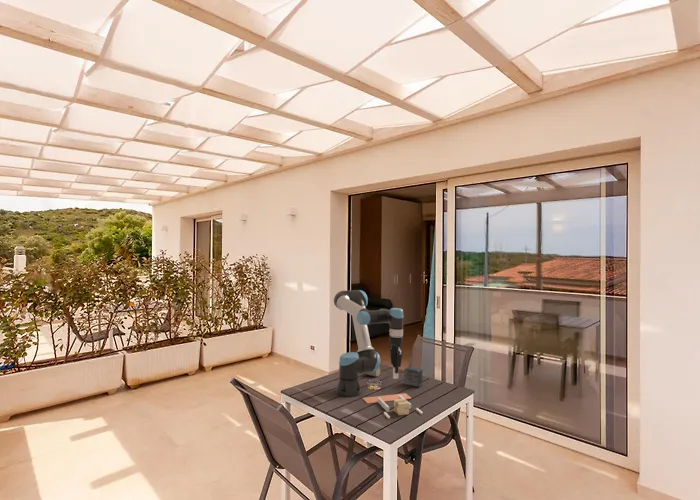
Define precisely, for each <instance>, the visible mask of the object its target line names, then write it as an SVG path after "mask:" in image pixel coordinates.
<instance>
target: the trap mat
mask: <svg viewBox="0 0 700 500" xmlns="http://www.w3.org/2000/svg"><path fill="white" fill-rule="evenodd" d="M399 395H401V396H402V397H403V398H404V399H406V400H412V397H411V396H409V394H407V393H405V392H404V393H396V394H395V393H394V394H386V395H377V396H367V397H362V400H363V401H364V402H365V403H366V404H367V405H369V404H370V405H371V404H377V403H378V397H380V398H381V399H382V400H383V401H384V402H385V403H388V402H394V400H398V399H399ZM378 404H379V403H378Z"/></svg>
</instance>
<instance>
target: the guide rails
mask: <svg viewBox="0 0 700 500" xmlns="http://www.w3.org/2000/svg"><path fill="white" fill-rule="evenodd" d="M399 399H404V398H403V397H402V396H401V395H399ZM405 400H406V401H407V402H409V401H408V399H405ZM378 404H379V405H380V406H381V407H382V408H383V409H384V410H385V412H386V413H388V412H390V406H389V405H388V404H387V402H384V401H383V400H382V399H381V398H380V397H378ZM411 409H412V403H410V402H409V410H411Z"/></svg>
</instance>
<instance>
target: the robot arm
mask: <svg viewBox="0 0 700 500" xmlns="http://www.w3.org/2000/svg"><path fill="white" fill-rule="evenodd" d="M368 300H369V298H368V295H367V294H366V292H365V291H363V290H361V289H354V290H351V289H350V290H341V291H338V292H337V293H336V294H335V295H334V298H333V303H334V306H335V307H336V308H337V309H338V310H341V311H344V312H346V313H348V314H349V315H350V316H351V317H352V323H353V327H354V332H355V338H356V342H357V347H358V348H357V349H358V350H357V351H350V352H345V353H343V354H341V355H340V356H339V361H338V364H339V367H338V368H339V369H338V371H339V374H338V375H339V379H338V381H337V385H336V388H335V389H336V391H335V392H336V394H337V395H339V396H341V397H348V398H349V397H357V396H359V395H361V392H362V389H361V385H360V381H359V375H360V374H366V373H367V372H373V371H376V370H378V368H380V366H381V356H380V354H379V352H377V351H376V350H375V347H373V346H372V343H371V339H370V333H369V327H368V325H372V324H373V325H375V324H385V323H386V324H389V330H388V332H389V338H388V339H389V340H388V341H389V342H388V343H390V345H389V350H390V351H389V352H390V353H389V354H390V364H391V365H392V379H394V380H396V379H397V380H398V379H399V372H400V371H399V370H400V369H399V368H401V366H402V358H403V354H404V353H403V352H404V351H403V350H401V348H402V347H401V345H402V344H403V343H404V337H403V336H404V310H403V309H402V308H401V307H391V308H390V309H387V308H380V309H375V310H374V309H373V310H369V309H367V308H366V307H367V306H368Z"/></svg>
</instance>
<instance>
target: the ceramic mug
mask: <svg viewBox="0 0 700 500" xmlns="http://www.w3.org/2000/svg"><path fill="white" fill-rule="evenodd" d="M365 374H366V375H367V376H371V377H374V378H375V377H376V378H377V377H379V375H380V374H381V368H380V367H379V368H378V370H376V371H373V372H367V373H365Z"/></svg>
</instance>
